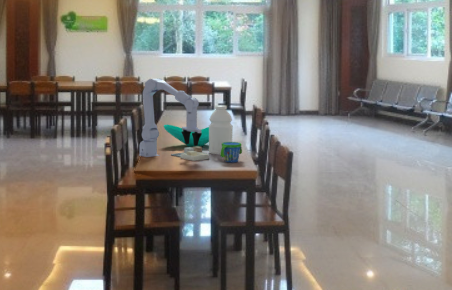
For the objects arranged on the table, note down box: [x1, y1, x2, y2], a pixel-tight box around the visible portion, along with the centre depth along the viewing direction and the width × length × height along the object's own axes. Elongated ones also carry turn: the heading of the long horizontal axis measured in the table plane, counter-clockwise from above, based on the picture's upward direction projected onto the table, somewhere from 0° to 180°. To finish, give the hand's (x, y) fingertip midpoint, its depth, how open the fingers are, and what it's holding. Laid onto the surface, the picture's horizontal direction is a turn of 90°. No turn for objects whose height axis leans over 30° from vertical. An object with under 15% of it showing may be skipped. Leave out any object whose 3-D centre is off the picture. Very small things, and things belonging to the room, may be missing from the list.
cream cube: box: [187, 151, 197, 156], centre depth 361 cm, size 4×4×4 cm
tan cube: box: [191, 146, 203, 153], centre depth 378 cm, size 4×4×4 cm
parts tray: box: [170, 151, 208, 158], centre depth 374 cm, size 18×10×1 cm, turn 132°
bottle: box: [208, 104, 234, 155], centre depth 382 cm, size 14×14×28 cm
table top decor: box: [163, 124, 209, 148], centre depth 410 cm, size 40×28×13 cm
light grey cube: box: [183, 146, 194, 153], centre depth 374 cm, size 4×4×4 cm
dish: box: [180, 152, 210, 162], centre depth 362 cm, size 11×11×3 cm
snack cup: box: [219, 141, 243, 164], centre depth 356 cm, size 16×10×10 cm
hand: (191, 144), depth 360 cm, fingers open, 7 cm apart
